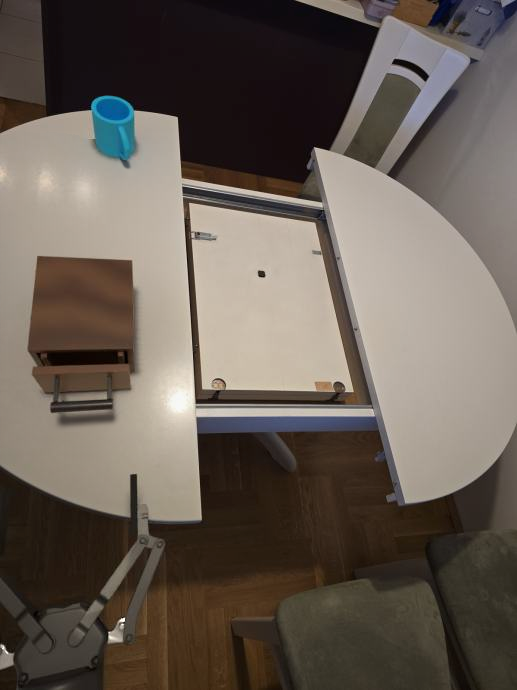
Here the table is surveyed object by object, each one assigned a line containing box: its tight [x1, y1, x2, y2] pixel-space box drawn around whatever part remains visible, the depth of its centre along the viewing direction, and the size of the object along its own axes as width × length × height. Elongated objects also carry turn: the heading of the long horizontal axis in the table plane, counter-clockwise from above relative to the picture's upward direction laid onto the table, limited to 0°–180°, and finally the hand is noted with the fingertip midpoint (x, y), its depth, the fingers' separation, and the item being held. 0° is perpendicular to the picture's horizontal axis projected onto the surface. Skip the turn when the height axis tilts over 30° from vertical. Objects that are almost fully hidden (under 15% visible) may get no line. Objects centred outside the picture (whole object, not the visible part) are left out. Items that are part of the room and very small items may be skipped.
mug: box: [90, 95, 136, 161], centre depth 82 cm, size 12×8×8 cm
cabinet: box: [27, 255, 135, 373], centre depth 62 cm, size 16×14×10 cm
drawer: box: [31, 351, 132, 414], centre depth 60 cm, size 20×13×8 cm, turn 8°
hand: (71, 482), depth 45 cm, fingers open, 13 cm apart
